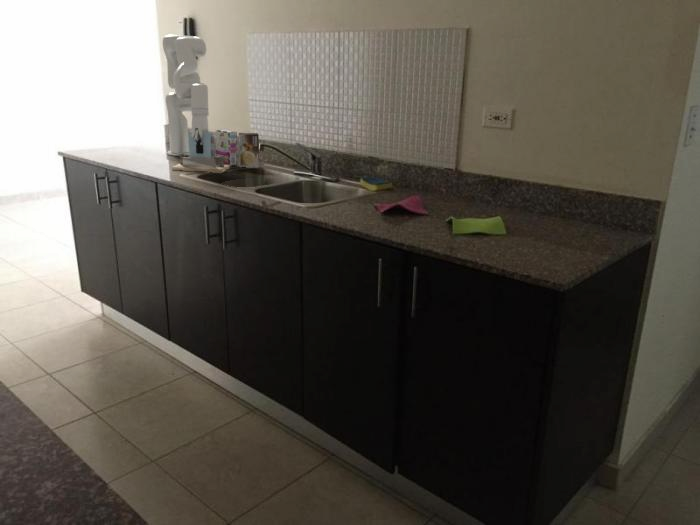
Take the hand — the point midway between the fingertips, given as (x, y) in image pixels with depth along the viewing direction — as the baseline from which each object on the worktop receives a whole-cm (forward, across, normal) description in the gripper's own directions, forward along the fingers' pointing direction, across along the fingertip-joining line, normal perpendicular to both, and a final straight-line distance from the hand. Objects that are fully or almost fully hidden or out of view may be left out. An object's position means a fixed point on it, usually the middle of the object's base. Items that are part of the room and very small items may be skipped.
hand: (201, 152), depth 273 cm
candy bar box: (+8, -16, +7) cm, 19 cm away
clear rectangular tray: (+8, 0, 0) cm, 8 cm away
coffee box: (+8, -13, +19) cm, 24 cm away
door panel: (+3, 0, 0) cm, 3 cm away
